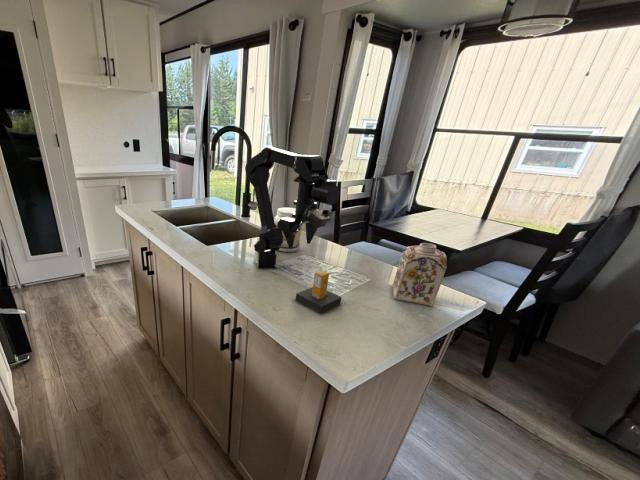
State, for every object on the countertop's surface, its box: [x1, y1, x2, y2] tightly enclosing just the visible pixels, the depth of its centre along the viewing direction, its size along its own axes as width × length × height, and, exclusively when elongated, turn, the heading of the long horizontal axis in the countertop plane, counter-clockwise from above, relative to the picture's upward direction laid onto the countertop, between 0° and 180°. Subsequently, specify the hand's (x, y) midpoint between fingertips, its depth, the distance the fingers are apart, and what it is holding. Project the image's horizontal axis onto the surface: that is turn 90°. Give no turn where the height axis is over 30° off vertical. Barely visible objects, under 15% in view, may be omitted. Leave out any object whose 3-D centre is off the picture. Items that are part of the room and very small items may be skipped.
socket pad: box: [294, 286, 342, 315], centre depth 102 cm, size 10×10×2 cm
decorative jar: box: [392, 242, 448, 307], centre depth 106 cm, size 12×12×18 cm
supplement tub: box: [274, 207, 303, 253], centre depth 143 cm, size 12×12×17 cm
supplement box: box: [312, 270, 330, 299], centre depth 101 cm, size 3×3×10 cm
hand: (299, 246), depth 110 cm, fingers open, 9 cm apart
